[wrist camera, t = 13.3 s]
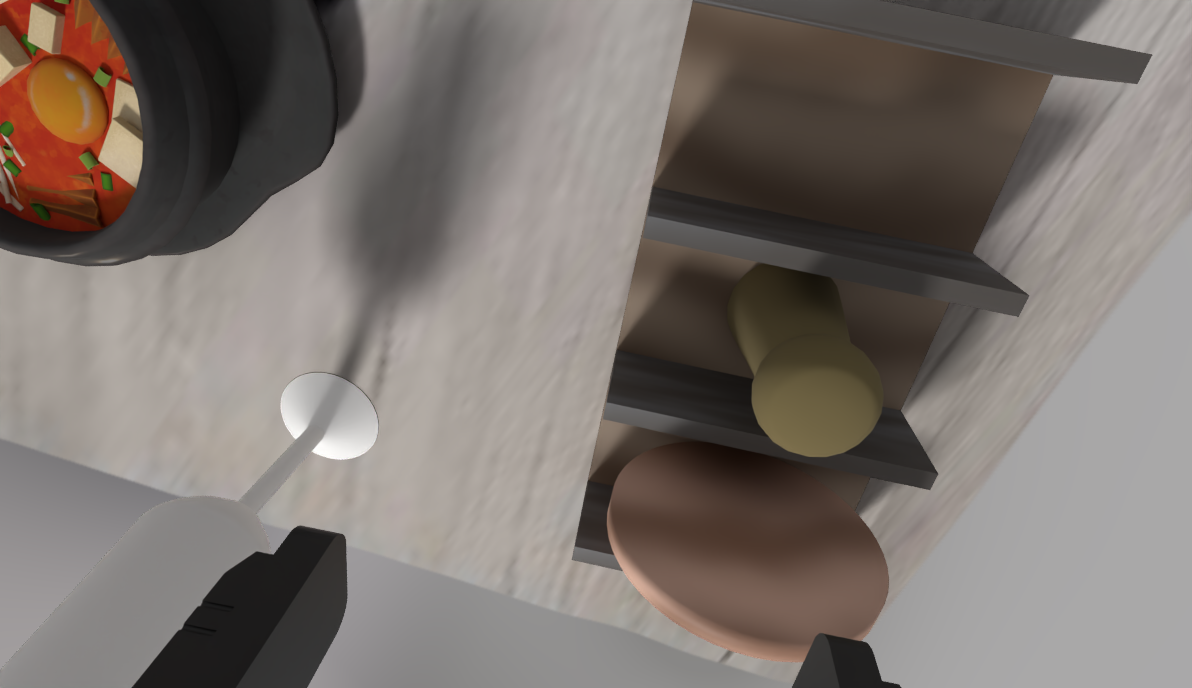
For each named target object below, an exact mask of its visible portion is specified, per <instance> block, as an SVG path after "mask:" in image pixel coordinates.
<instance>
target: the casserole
mask: <svg viewBox="0 0 1192 688" xmlns="http://www.w3.org/2000/svg"><path fill="white" fill-rule="evenodd" d="M337 119H338V99H337V78H336V73H335V69H334V64H333V59H332V54H331V50H330V45H329V40H328V36H327V34H326V31H325V29H324V26H323V24H322V21H321V18H320V16H319V13H318V11H317V8H316V6H315V3H314V1H313V0H0V248H2V249H4V250H7V251H10V252H13V253H16V254H21V255H27V256H33V257H39V258H45V259H51V260H54V261H58V262H64V263H70V264H76V265H82V266H113V265H119V264H123V263H127V262H131V261H135V260H138V259H142V258H144V257H146V256H148V255H151V256H158V255H182V254H186V253H189V252H193V251H197V250H201V249H205V248H208V247H210V246H212V245H214V244H215V243H217V242H219V241H221V240H223V239H225V238H226V237H228V236H230V235H232V234H233V233H234V232H235V231H236V230H237V229H238V228H239V227H240V226H241V225H242V224H243V223H244V222H245V221H246V220H247V219H248V218H249V217H250V216H251V215H252V214H253V213H254V212H255V211H256V210H257V209H258V208H259V207H261V206H262V205H263V204H264V203H265V202H266V201H267V200H268V199H269V198H270V197H271V196H272V195H274V194H275V193H277V192H279V191H281V190H283V189H284V188H286V187H288V186H290V185H292V184H293V183H295V182H297V181H299V180H300V179H302V178H303V177H305V176H306V175H308V174H309V173H311V172H312V171H314V170H315V169H317V168H319V167H320V166H321V165H322V163H323V161H324V160H325V158H326V156H327V154H328V153H329V151H330V149H331V147H332V146H333V144H334V138H335V132H336V126H337Z"/></svg>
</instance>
